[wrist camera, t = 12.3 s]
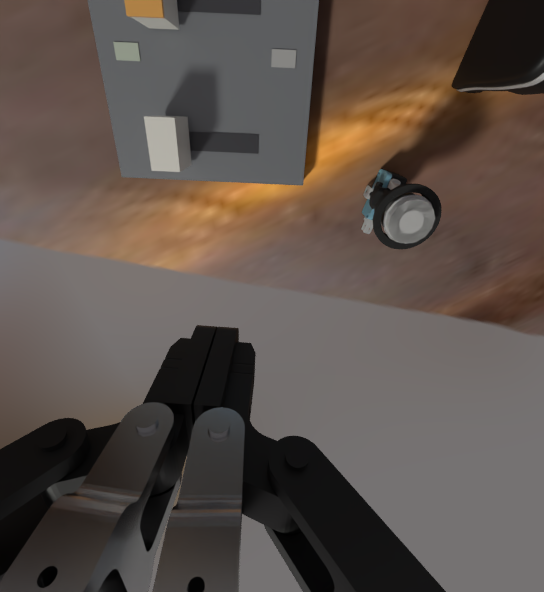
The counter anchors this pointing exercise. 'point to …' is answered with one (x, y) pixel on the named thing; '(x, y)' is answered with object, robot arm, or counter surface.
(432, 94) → the counter surface
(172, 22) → the handle
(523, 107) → the counter surface
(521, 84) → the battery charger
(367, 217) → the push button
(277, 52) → the breaker board
